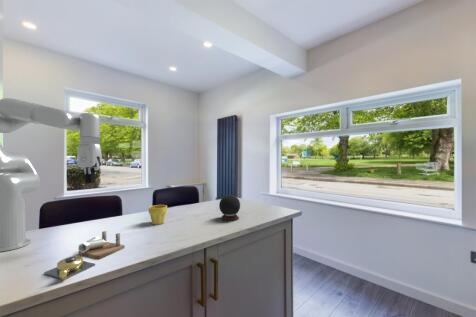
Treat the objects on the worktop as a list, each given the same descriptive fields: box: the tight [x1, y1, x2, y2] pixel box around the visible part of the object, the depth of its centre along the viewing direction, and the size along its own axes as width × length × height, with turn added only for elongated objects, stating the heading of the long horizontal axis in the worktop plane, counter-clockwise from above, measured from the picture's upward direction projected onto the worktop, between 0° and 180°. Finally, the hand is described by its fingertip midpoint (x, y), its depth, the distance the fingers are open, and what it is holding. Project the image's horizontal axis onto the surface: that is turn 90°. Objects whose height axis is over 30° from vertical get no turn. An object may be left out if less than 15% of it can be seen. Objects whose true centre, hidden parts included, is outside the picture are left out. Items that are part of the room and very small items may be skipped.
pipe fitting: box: [77, 235, 108, 253], centre depth 88 cm, size 8×4×7 cm
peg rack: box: [77, 230, 126, 260], centre depth 89 cm, size 12×11×6 cm
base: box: [43, 260, 96, 281], centre depth 74 cm, size 10×10×1 cm
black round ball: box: [218, 194, 241, 222], centre depth 137 cm, size 13×13×15 cm
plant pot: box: [148, 204, 168, 226], centre depth 128 cm, size 10×10×10 cm
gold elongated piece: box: [56, 255, 84, 281], centre depth 72 cm, size 7×12×3 cm, turn 24°
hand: (90, 182), depth 97 cm, fingers closed
